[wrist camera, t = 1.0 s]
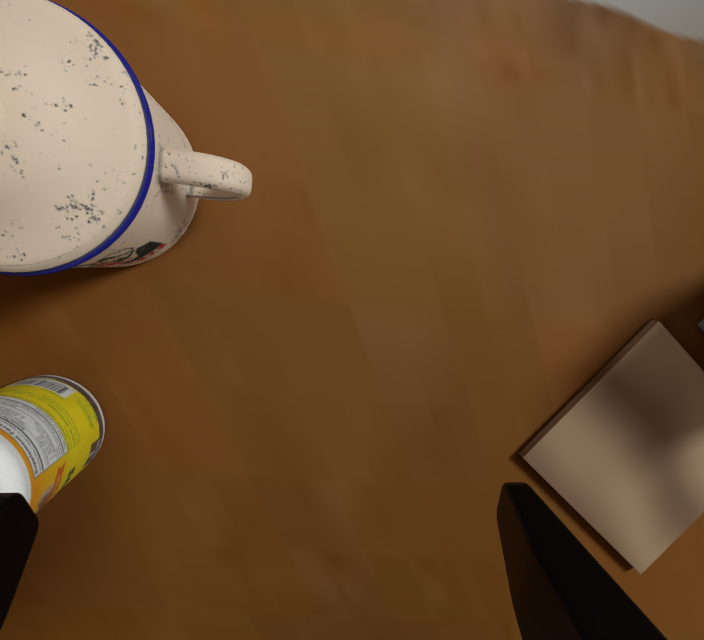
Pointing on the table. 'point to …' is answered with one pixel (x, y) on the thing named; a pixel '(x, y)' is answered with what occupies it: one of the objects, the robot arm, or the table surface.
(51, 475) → the supplement bottle
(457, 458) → the table surface
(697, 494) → the light tan board
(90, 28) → the teacup with lid
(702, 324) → the sharp-edged grey box
